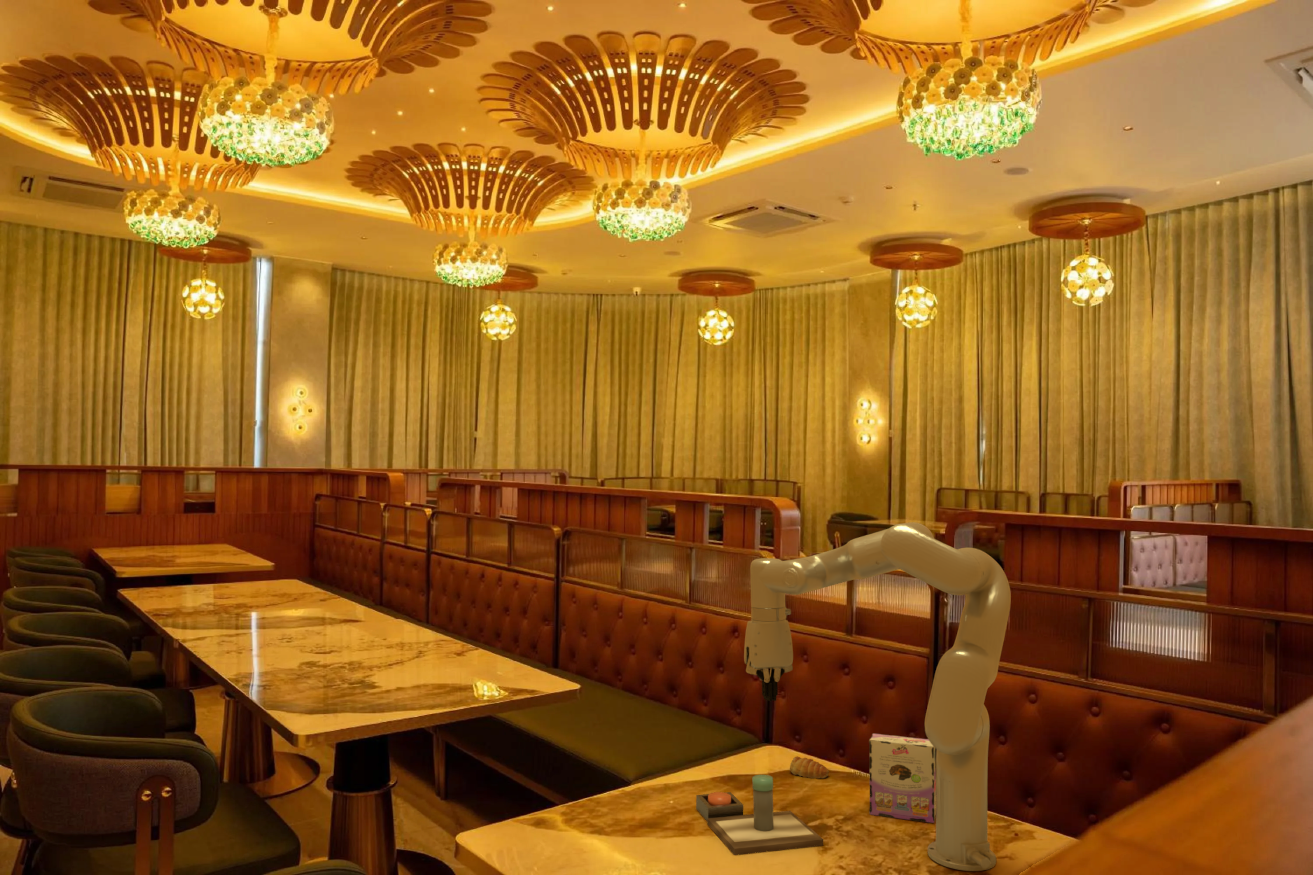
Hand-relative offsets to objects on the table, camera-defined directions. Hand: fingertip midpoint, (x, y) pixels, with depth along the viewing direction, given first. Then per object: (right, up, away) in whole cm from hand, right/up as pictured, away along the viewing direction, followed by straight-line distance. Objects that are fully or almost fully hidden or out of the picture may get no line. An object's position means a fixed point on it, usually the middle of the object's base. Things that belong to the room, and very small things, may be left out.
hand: (770, 699), depth 197 cm
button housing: (-11, -25, -1) cm, 27 cm away
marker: (-3, -23, -12) cm, 26 cm away
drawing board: (-3, -24, -12) cm, 27 cm away
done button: (-11, -23, -1) cm, 26 cm away
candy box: (+29, -26, 0) cm, 39 cm away
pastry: (+13, -27, +27) cm, 40 cm away
